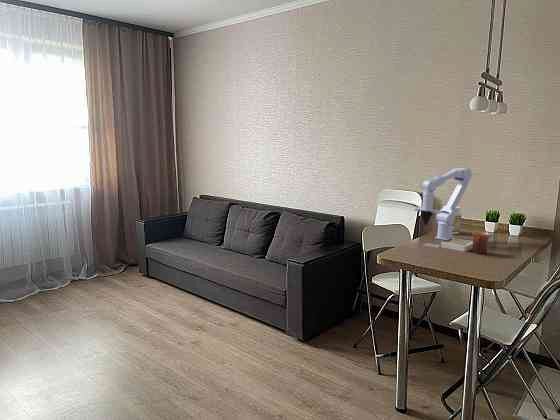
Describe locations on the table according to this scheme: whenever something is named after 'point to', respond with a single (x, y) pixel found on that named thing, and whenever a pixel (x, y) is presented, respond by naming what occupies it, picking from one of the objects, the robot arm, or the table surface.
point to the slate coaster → (431, 245)
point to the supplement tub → (456, 221)
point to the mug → (480, 242)
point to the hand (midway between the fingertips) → (426, 224)
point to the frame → (458, 247)
